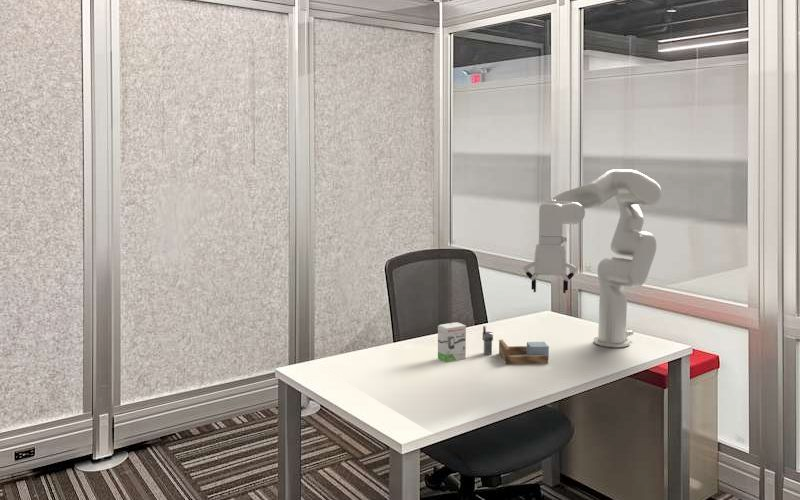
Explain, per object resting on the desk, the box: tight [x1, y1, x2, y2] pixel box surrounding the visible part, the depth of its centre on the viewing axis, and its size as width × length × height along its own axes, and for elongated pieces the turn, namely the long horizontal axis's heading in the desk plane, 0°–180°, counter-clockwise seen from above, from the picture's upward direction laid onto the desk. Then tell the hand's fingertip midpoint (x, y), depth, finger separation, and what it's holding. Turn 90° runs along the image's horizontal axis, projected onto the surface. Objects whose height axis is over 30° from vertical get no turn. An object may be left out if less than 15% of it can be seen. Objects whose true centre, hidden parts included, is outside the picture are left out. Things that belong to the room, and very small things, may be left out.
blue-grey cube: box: [526, 341, 550, 360], centre depth 227 cm, size 6×6×5 cm
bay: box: [498, 339, 549, 365], centre depth 226 cm, size 14×12×5 cm
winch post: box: [482, 325, 494, 356], centre depth 232 cm, size 4×4×10 cm
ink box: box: [437, 321, 467, 363], centre depth 226 cm, size 9×5×12 cm, turn 120°
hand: (549, 292), depth 222 cm, fingers open, 9 cm apart
